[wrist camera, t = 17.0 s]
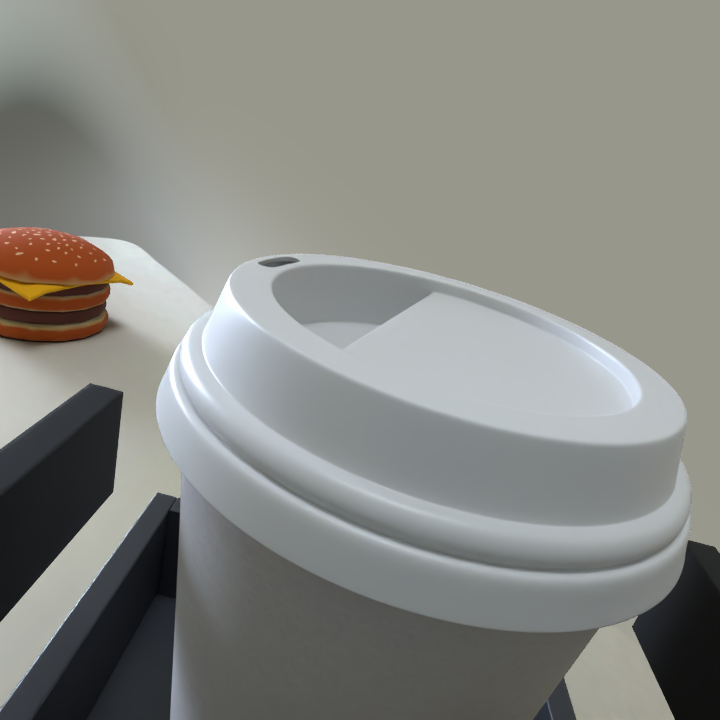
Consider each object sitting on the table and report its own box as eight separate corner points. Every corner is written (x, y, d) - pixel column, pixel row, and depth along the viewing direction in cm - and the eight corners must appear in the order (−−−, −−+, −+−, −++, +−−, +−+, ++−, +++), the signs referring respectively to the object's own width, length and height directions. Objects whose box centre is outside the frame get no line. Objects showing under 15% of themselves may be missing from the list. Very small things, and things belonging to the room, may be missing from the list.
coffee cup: (305, 627, 22) (413, 249, 16) (518, 859, 16) (790, 403, 11) (33, 792, 15) (64, 229, 9) (243, 1303, 9) (621, 639, 4)
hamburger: (-68, 310, 39) (-72, 215, 37) (51, 291, 48) (55, 213, 45) (29, 356, 37) (32, 258, 34) (137, 328, 45) (146, 247, 43)
